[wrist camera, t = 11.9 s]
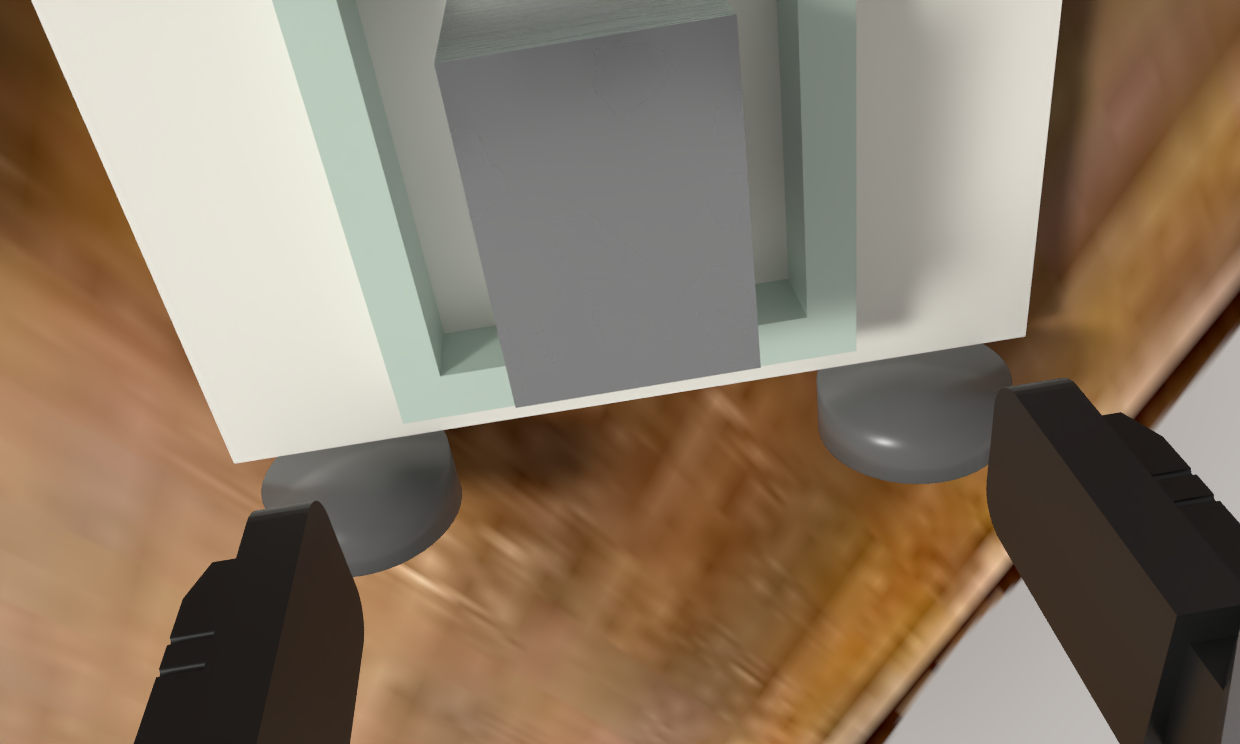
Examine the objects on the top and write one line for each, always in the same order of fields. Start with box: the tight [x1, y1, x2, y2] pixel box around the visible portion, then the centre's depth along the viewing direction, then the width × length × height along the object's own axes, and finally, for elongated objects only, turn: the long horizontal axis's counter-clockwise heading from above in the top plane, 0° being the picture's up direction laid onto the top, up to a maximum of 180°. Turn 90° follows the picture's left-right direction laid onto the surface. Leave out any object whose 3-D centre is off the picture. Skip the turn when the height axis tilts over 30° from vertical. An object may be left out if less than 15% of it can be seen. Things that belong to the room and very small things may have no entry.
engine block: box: [434, 0, 761, 408], centre depth 21 cm, size 7×5×6 cm
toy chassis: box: [31, 0, 1062, 577], centre depth 23 cm, size 19×22×5 cm
